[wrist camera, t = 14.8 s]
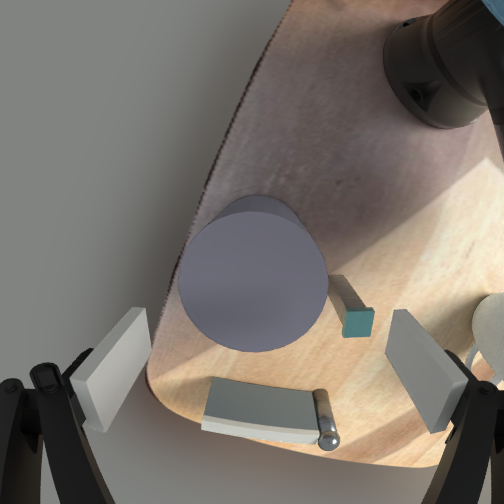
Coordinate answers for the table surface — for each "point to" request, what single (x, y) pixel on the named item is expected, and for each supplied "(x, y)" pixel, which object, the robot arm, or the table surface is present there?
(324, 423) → the hinge post
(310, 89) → the table surface
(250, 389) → the grey flat board
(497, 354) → the mug
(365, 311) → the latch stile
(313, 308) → the container
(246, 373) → the table surface
